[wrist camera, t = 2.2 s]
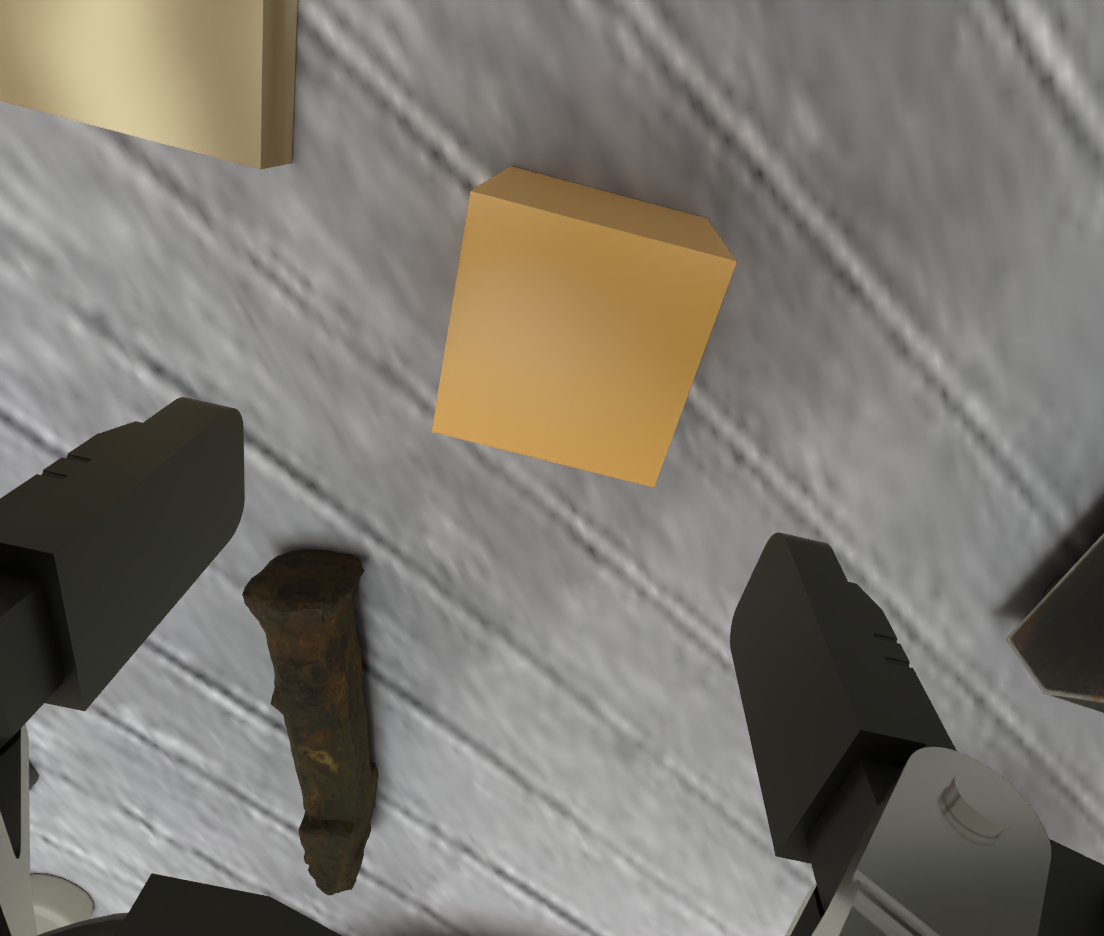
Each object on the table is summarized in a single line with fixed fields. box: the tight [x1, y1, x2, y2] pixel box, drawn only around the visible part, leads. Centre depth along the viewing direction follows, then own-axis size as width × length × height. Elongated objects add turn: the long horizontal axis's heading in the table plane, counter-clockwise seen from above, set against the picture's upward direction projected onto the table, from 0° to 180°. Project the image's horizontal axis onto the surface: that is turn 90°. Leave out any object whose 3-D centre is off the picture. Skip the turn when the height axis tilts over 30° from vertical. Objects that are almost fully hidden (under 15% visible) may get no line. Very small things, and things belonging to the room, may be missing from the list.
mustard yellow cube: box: [432, 166, 737, 488], centre depth 19 cm, size 6×6×6 cm
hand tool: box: [242, 550, 378, 895], centre depth 30 cm, size 19×4×5 cm, turn 175°
